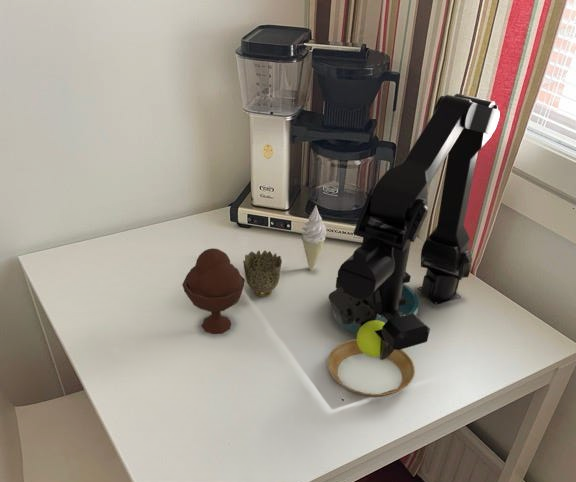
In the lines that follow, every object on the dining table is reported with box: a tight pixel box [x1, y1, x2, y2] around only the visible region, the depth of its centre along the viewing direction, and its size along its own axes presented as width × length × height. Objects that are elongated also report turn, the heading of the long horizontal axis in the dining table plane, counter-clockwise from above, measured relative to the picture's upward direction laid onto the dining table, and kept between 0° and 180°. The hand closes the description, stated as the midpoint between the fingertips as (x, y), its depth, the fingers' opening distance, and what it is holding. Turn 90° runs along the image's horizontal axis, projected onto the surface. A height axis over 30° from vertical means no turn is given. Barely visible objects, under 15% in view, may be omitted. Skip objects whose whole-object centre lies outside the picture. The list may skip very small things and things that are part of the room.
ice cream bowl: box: [181, 247, 246, 335], centre depth 110 cm, size 11×11×15 cm
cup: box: [242, 250, 283, 298], centre depth 120 cm, size 8×7×8 cm
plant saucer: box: [327, 338, 416, 398], centre depth 104 cm, size 15×15×3 cm
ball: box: [356, 320, 385, 358], centre depth 100 cm, size 6×6×6 cm
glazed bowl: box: [332, 283, 420, 336], centre depth 117 cm, size 16×16×4 cm
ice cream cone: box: [300, 205, 327, 271], centre depth 125 cm, size 5×5×15 cm
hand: (373, 348), depth 101 cm, fingers closed on ball, 6 cm apart
